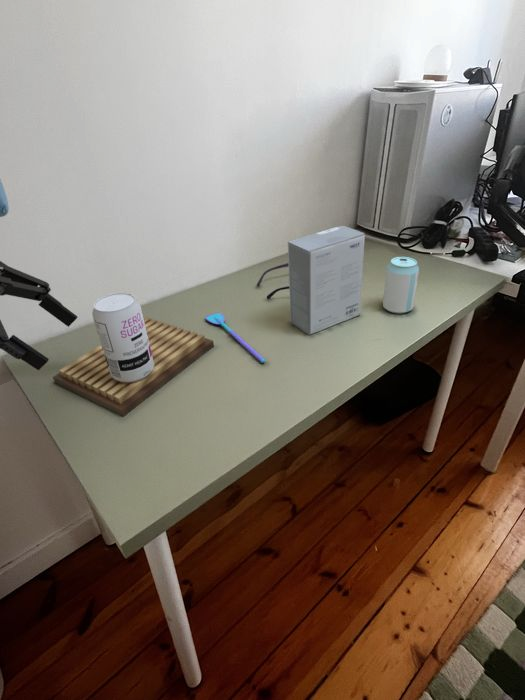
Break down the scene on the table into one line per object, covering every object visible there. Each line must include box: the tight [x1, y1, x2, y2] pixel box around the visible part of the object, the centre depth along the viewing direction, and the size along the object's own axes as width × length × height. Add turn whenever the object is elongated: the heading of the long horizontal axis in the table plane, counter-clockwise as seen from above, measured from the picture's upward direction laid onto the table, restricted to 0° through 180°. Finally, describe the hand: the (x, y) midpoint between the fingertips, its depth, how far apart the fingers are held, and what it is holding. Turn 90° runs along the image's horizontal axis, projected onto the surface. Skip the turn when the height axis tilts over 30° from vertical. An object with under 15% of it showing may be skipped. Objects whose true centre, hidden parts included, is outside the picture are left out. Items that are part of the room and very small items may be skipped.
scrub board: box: [52, 316, 215, 417], centre depth 90 cm, size 26×20×3 cm
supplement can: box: [91, 292, 154, 383], centre depth 79 cm, size 8×8×15 cm
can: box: [382, 256, 420, 315], centre depth 101 cm, size 7×7×12 cm
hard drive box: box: [287, 225, 366, 336], centre depth 97 cm, size 16×8×20 cm, turn 123°
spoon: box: [205, 312, 266, 364], centre depth 97 cm, size 25×4×1 cm, turn 35°
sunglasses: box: [256, 262, 289, 300], centre depth 116 cm, size 14×16×5 cm
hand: (59, 341), depth 77 cm, fingers open, 13 cm apart
